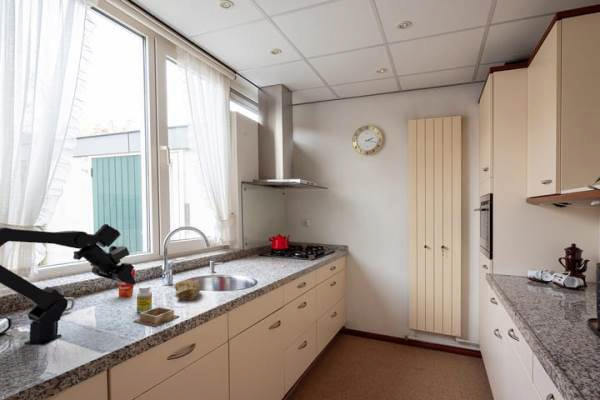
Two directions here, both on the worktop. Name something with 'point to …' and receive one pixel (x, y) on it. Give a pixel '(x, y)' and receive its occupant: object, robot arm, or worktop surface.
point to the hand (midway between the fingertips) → (127, 282)
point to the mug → (71, 305)
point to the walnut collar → (156, 316)
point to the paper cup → (126, 287)
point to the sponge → (187, 289)
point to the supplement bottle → (144, 299)
